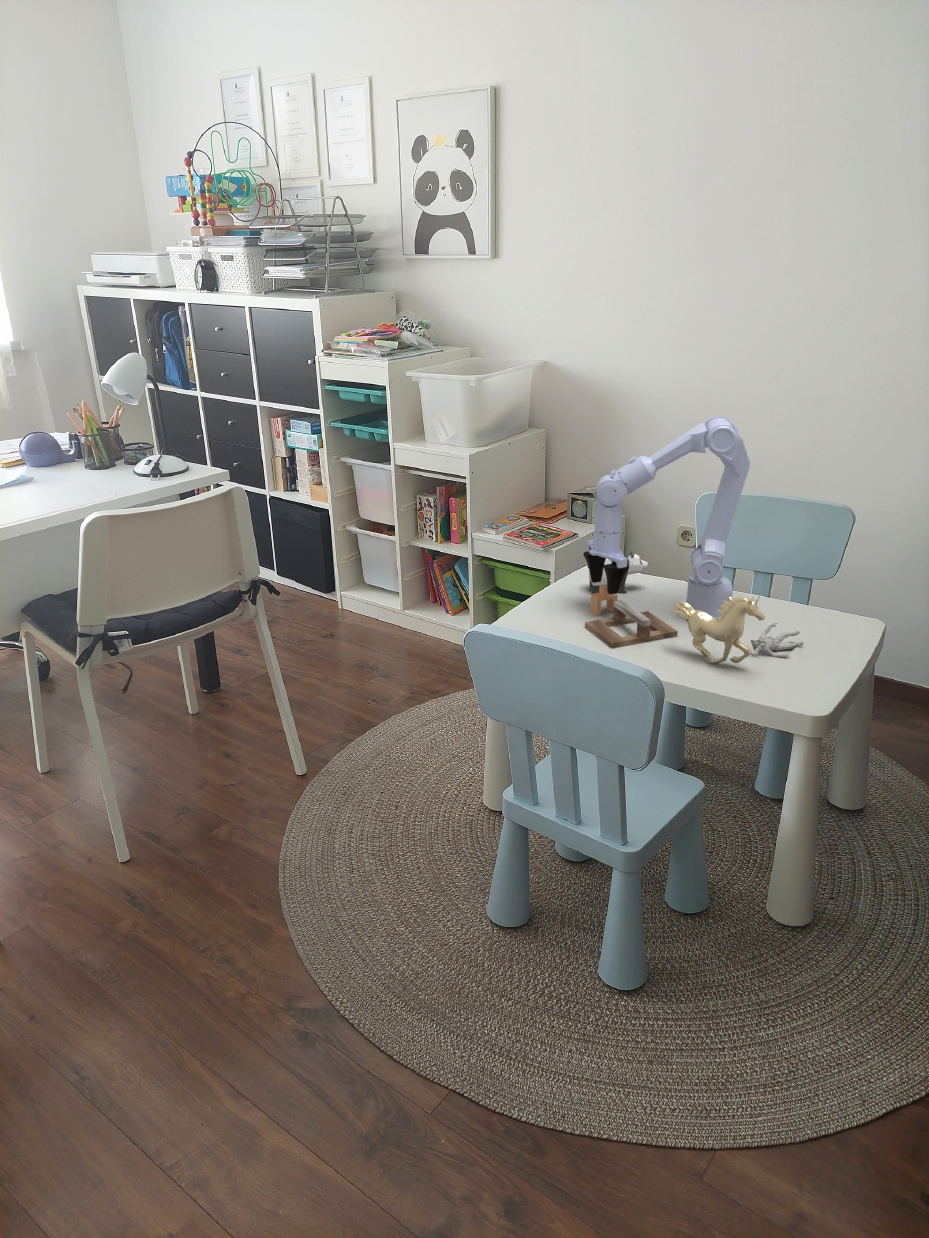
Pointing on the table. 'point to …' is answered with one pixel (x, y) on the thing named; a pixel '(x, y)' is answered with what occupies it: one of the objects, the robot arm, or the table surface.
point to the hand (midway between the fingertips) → (604, 587)
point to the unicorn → (720, 625)
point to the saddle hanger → (602, 596)
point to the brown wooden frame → (625, 616)
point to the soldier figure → (775, 642)
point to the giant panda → (634, 567)
